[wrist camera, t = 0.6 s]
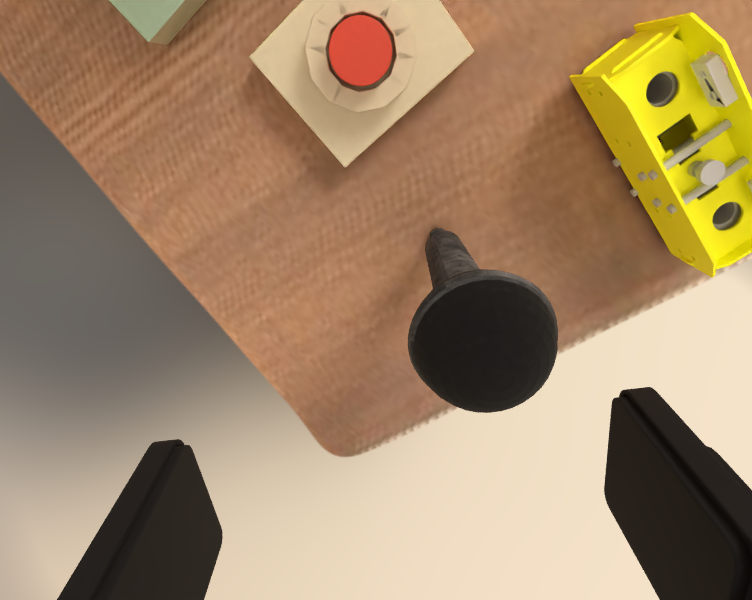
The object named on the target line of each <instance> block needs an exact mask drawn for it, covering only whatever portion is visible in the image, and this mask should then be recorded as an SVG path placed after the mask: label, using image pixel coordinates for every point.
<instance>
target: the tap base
mask: <svg viewBox="0 0 752 600" xmlns="http://www.w3.org/2000/svg"><path fill="white" fill-rule="evenodd" d="M109 1H110V2H111V3H112V4H113V5H114V6H115V7H116V8H117V10H118V11H119V12H120V13H121V14H122V15H123V16H124V17H125V18H126V19H127V20H128V21H129V22H130V23H131V25H132V26H133V27H134V28H135V29H136V30H137V31H138V32H139V33H140V34H141V35H142V36H143V37H144V38H145V39H146V41H147V42H150V43H156V44H162V45H168V44H169V43H170V42H171V40H172V39H173V38H174V37H175V36H176V35H177V34H178V32H179V31H180V30H181V29H182V28H183V27H184V26H185V24H186V23H187V22H188V21H189V20H190V19H191V18H192V16H193V15H194V14H195V13H196V12H197V11H198V10H199V8H200V7H201V6H202V5H203V4H204V3H205V2H206V1H207V0H109Z"/></svg>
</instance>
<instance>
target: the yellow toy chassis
mask: <svg viewBox="0 0 752 600" xmlns="http://www.w3.org/2000/svg"><path fill="white" fill-rule="evenodd" d="M633 27H634V29H635V31H636V34H634V35H633V36H631V37H629V38H628V39H625V38H624V39H622V40H621V41H619V42H618V43H617V44H616V45H614V46H613V47H612V48H610V49H609V50H608V51H607V52H605V53H604V54H603V55H602V56H600V57H599V58H598V59H596V60H595V61H594V62H593V63H591V64H590V65H589V66H587V67H586V68H585V69H584V70H583V74H580V75H571V76H569V78H570V80H571V82H572V83H573V85H574V87H575V88H576V90H577V92H578V94H579V95H580V97H581V99H582V101H583V102H584V104H585V106H586V107H587V109H588V111H589V113H590V114H591V116H592V118H593V119H594V121H595V123H596V125H597V126H598V128H599V130H600V132H601V133H602V135H603V137H604V138H605V140H606V142H607V144H608V145H609V147H610V149H611V150H612V152H613V154H614V156H615V157H616V159H614V160H613V161H612V163H613V165H614V166H615V167H618V166H619V165H620V166H621V168H622V169H623V171H624V173H625V175H626V176H627V178H628V180H629V182H630V183H631V185H632V187H633V189H632V190H630V191H629V192H630V194H631V195H632V196H633V197H635V196H636V195H638V197H639V199H640V200H641V202H642V204H643V206H644V207H645V209H646V211H647V213H648V214H649V216H650V218H651V219H652V221H653V223H654V225H655V226H656V228H657V230H658V231H659V233H660V235H661V237H662V238H663V240H664V242H665V244H666V245H667V247H668V249H669V250H670V252H671V254H673V255H674V256H676V257H678V258H679V259H681V260H682V261H683V262H685V263H687V264H689V265H691V266H693V267H695V268H697V269H698V270H700V271H702V272H703V273H705V274H707V275H709V276H710V277H714V276H715V273H716V269H719V268H723V267H726V266H730V265H731V264H733V263H735V262H736V261H738V260H740V259H741V258H743V257H744V256H746V255H748V254H749V253H751V252H752V99H751V97H750V94H749V92H748V90H747V88H746V85H745V83H744V81H743V79H742V76H741V74H740V72H739V70H738V67H737V65H736V63H735V61H734V58H733V56H732V54H731V52H730V49H729V47H728V45H727V43H726V41H725V40H724V39H723V38H722V37H721V36H720V35H718V34H717V33H716V32H715V31H714V30H713V29H712V28H710V27H709V26H708V25H707V24H706V23H705V22H704V21H703V20H701V19H700V18H699V17H698V16H697V15H696V14H695V13H693V12H691V13H686V14H681V15H676V16H672V17H667V18H662V19H657V20H653V21H648V22H643V23H638V24H635V25H634V26H633ZM708 51H711V52H714V53H716V54H711V55H707V52H708ZM719 56H720V57H721V58H722V59H723V60H724V62H725V64H726V66H727V69H728V74H727V72H726V70H725V68H724V65H723V63H722V61H721V59H720V57H719ZM659 137H660V139H661V141H662V144H661V143H660V141H659V139H658V138H659Z"/></svg>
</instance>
